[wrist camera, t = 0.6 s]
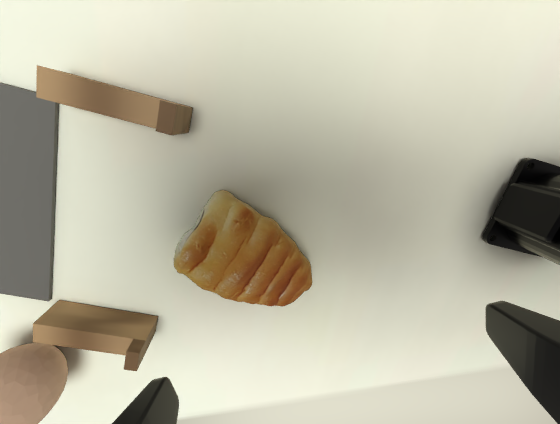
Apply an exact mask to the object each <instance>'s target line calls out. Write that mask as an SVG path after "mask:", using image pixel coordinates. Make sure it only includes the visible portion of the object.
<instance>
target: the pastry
mask: <svg viewBox="0 0 560 424" xmlns="http://www.w3.org/2000/svg"><path fill="white" fill-rule="evenodd" d="M174 267H175V269H176V270H177V272H178V273H182V274H184V275H186V276H187V277H188V278H190V279H191V280H192V281H193V282H194V283H196V284H197V285H198V286H199V287H201V288H202V289H204V290H208V291H211V292H214V293H217V294H218V295H220V296H221V297H223V298H225V299H231V300H234V301H237V302H242V301H243V302H247V303H251V304H261V305H267V306H274V305H275V306H285V305H288V304H290V303H292V302H294V301H295V300H296V299H297V298H298V297H299V296H301V294H302V293H303V292H304V291H307V290H308V289H309V288H310V287H311V285H312V273H311V265H310V262H309V261H308V259H307V258H306V257H305V256H304V255H303V254H302V253H301V251H299V249H298V247H297V245H296V243H295V242H294V241H293V240H292V239H291V238H290V237H289V236H288V235H286V234H285V233H284V231H283V230H282V229H281V228H280V226H279V225H278V223H277V222H276V221H275V220H273V219H272V218H269V217H264V216H262V215H261V214H259V213H258V212H256V210H255V209H253V208H252V207H251V206H250V205H248V204H246V203H245V202H242V201H240V200H239V199H236V198H235V197H234V196H233V195H232V194H231V193H230V192H228V191H225V190H220V191H217V192H215V193H214V194H213V195H212V196H211V198H210V199H209V200H208V202H207V204H206V205H205V206H204V208H203V209H202V211H201V213H200V216H199V217H198V218H197V221H196V223H195V226H194V227H193V228H192V229H191V230H189V231H188V232H186V233H185V234H184V235H183V236H182V238H181V240H180V242H179V243H178V245H177V247H176V250H175V256H174Z"/></svg>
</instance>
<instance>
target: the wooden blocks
mask: <svg viewBox="0 0 560 424" xmlns="http://www.w3.org/2000/svg"><path fill="white" fill-rule="evenodd" d="M36 97H37V98H41V99H45V100H49V101H53V102H56V103H60V104H64V105H68V106H72V107H75V108H79V109H83V110H87V111H91V112H95V113H98V114H102V115H106V116H110V117H114V118H118V119H121V120H125V121H129V122H133V123H137V124H141V125H144V126H148V127H152V128H156V131H157V132H161V133H165V134H169V135H177V134H182V133H188V132H189V128H190V122H191V116H192V110H193V108H192V107H189V106H185V105H182V104H178V103H174V102H171V101H167V100H164V99H160V98H156V97H153V96H149V95H145V94H142V93H138V92H135V91H131V90H127V89H124V88H120V87H117V86H113V85H109V84H106V83H102V82H99V81H95V80H91V79H88V78H84V77H81V76H77V75H73V74H70V73H66V72H62V71H58V70H54V69H50V68H46V67H42V66H38V65H37V91H36ZM157 320H158V316H153V315H147V314H141V313H135V312H129V311H123V310H117V309H111V308H105V307H99V306H92V305H86V304H80V303H74V302H68V301H62V300H59V301H57V302H56V303H55V304H54V305H53V306H52V307H51V308H50V309H49V310H48V311H46V312H45V313H44V314H43V315H42V316H41V317H40V318H39V319H38V320H36V321H35V322H34V323H33V342H35V343H42V344H49V345H57V346H64V347H71V348H78V349H85V350H92V351H99V352H106V353H113V354H120V355H126V357H125V365H124V370H132V371H137V369H138V367H139V365H140V363H141V361H142V359H143V357H144V355H145V353H146V351H147V349H148V346H149V344H150V342H151V340H152V338H153V336H154V334H155V332H156V326H157Z"/></svg>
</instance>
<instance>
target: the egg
mask: <svg viewBox="0 0 560 424" xmlns="http://www.w3.org/2000/svg"><path fill="white" fill-rule="evenodd" d="M67 375H68V367H67V361H66V358H65V356H64V355H63V353H62V352H61V351H60V350H59V349H58V348H56V347H55V346H53V345H49V344H42V343H30V344H24V345H20V346H17V347H14V348H11V349H8V350H6V351H4V352H3V353H1V354H0V424H38V423H39V422H40V421H41V420H42V419H43V418H44V417H45V416H46V415H47V414H48V413H49V411H50V410H51V409H52V408H53V406H54V405H55V404H56V402H57V401H58V399H59V397H60V396H61V394H62V392H63V390H64V388H65V384H66V381H67Z"/></svg>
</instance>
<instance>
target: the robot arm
mask: <svg viewBox="0 0 560 424" xmlns="http://www.w3.org/2000/svg"><path fill="white" fill-rule="evenodd" d="M528 164H529V166H528ZM527 166H528V168H527ZM491 236H492V237H491ZM490 237H491V238H490ZM483 240H484V241H485V242H487V243H489V244H491V245H496V246H500V247H504V248H508V249H512V250H516V251H520V252H524V253H528V254H533V255H537V256H541V257H544V258H546V259H548V260H550V261H552V262H554V263H556V264H559V265H560V167H559V166H555V165H552V164H549V163H546V162H542V161H539V160H536V159H530V158H526V159H523V160H522V161H521V162H520V164H519V166H518V168H517V170H516V172H515V174H514V175H513V177H512V179H511V181H510V183H509V185H508V187H507V189H506V191H505V193H504V195H503V197H502V199H501V201H500V203H499V205H498V207H497V209H496V211H495V213H494V215H493V216H492V218H491V220H490V222H489V224H488V226H487V228H486V230H485V232H484V234H483ZM486 331H487V333H488V335H489V337H490V339H491V340H492V341H493V343H494V344H495V345H496V347H497V348H498V349H499V351H500V352H501V353H502V355H503V356H504V357H505V359H506V360H507V361H508V363H509V364H510V365H511V367H512V368H513V370H514V371H515V372H516V374H517V375H518V376H519V378H520V379H521V380H522V382H523V383H524V384H525V386H526V387H527V388H528V389H529V391H530V392H531V393H532V395H533V396H534V397H535V398H536V399H537V400H538V402H539V403H540V404H541V405H542V406H543V407H544V408H545V410H546V411H547V412H548V413H549V414H550V415H551V417H552V418H553V419H554V420H555V421H556V422H557V423H558V424H560V321H559V320H556V319H553V318H550V317H548V316H545V315H542V314H539V313H536V312H533V311H531V310H528V309H525V308H522V307H519V306H517V305H514V304H511V303H508V302H505V301H499V302H494V303H490V304H488V305H487V306H486ZM178 409H179V399H178V396H177V394H176V392H175V390H174V388H173V385H172V383H171V381H170V379H169V378H167V377H162V378H158V379H154V380H152V381H151V382H150V383H149V384H148V385H147V386H146V387H145V388H144V389H143V390H142V392H141V393H140V394H139V395H138V396H137V397H136V398H135V399H134V400H133V401H132V402H131V404H130V405H129V406H128V407H127V408H126V409H125V410H124V411H123V412H122V413H121V414H120V416H119V417H118V418H117V419H116V420H115V421H114V422H113V423H112V424H176V423H177V416H178Z"/></svg>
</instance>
